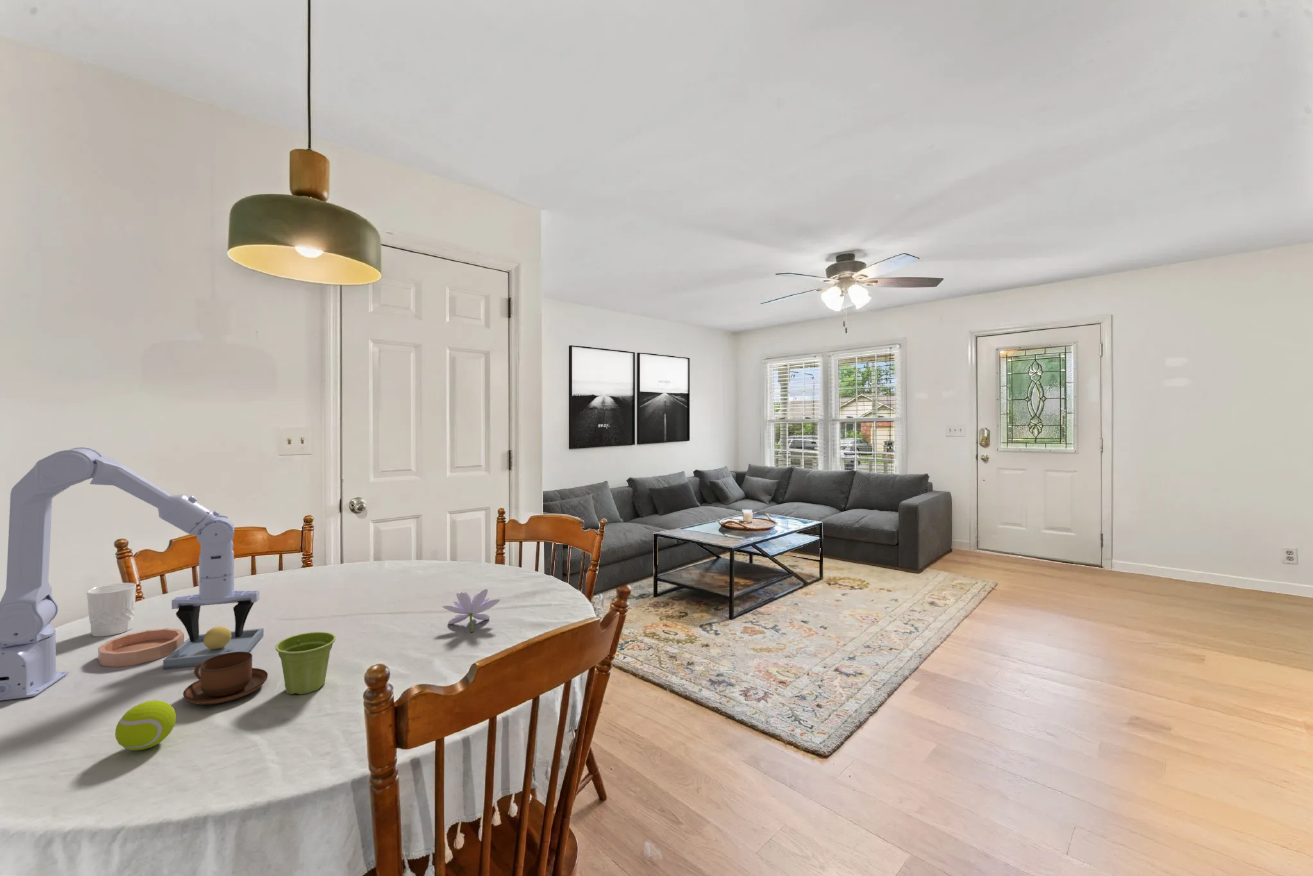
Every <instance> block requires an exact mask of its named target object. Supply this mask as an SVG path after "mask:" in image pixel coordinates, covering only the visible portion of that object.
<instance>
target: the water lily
mask: <svg viewBox="0 0 1313 876" xmlns="http://www.w3.org/2000/svg"><path fill="white" fill-rule="evenodd" d="M488 593H489V591H488V588H486V589H483V590H481V591H480V592H478V593H476V594H475V595H474V597H473V598H472V599H471V596H470V594H469V593H467V592H460V593H457V592H456V598H457V601H453V604H454V605H455V606H453V605H443V606H442V608H443V609H445V610H447V611H449V612H452V613H454V614H457V615H455V616H454V618H452V619H450V620H449V621H448V622H447V624H448V625H455V624H458V623H461V622H463V621H465V620H466V619H467V618H469V632H470V633H473V632H474V628H473V618H474V619H476V620H480V621H488V620H490V617H491V616H489V615H488V614H486V613H483V612H485V611H488V610H489V609H491V608H493V607H494V606H496V605H497V604H498V603H500V601H501V599H497V598H496V599H492V600H489V599H490V598H487V596H488Z"/></svg>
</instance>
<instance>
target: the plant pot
mask: <svg viewBox="0 0 1313 876" xmlns="http://www.w3.org/2000/svg"><path fill="white" fill-rule="evenodd" d="M336 638H337V637H336V635H335V634H334V633H332V632H327V631H312V632H311V631H310V632H304V633H299V634H296V635H295V634H294V635H292V636H288V637H286V638H284V639H282V640H280V641H279V642H277V643H276V645H275V646H274V648H275V651H276V652H278V653H277V655H278V657H279V658H280V663H281V667H282V674H283V681H284V687H285V692H286V693H287V694H289V695H293V694H299V695H306V694H309V693H313V692H315V691H317V690H319V689H321V687H322V686H325V683H326V678H327V672H328V666H329V661H330V660H329V659H330V653H331V650H332V648H333V644H334V643H335V641H336Z"/></svg>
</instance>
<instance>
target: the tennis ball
mask: <svg viewBox="0 0 1313 876" xmlns="http://www.w3.org/2000/svg"><path fill="white" fill-rule="evenodd" d="M176 720H177V714H176V710H175V709H174V707H173V706H172V705H171V704H169V703H168V702H166V701H163V700H157V699H156V700H155V699H154V700H148V701H147V700H146V701H143V702H141V703H138V704H137V705H134V706H133V707H131V708H130V709H128V710H127V711H126V712H125V713H124V714H123V715H122V716H121V718H120V719H119V721H118V722H117V724H116V727H115V733H114V735H115V740H116V742H117V743H118V745H119V746H121V747H122V748H124V749H125V750H127V751H143V750H144V751H145V750H147V749H150V748H152V747H155V746H156V745H158V744H159V743H161V742H162V741H164V740H165V739H166V738H168V736H170V734H171V732H172V730H174V727H175V725H176Z"/></svg>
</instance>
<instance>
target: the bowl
mask: <svg viewBox="0 0 1313 876" xmlns="http://www.w3.org/2000/svg"><path fill="white" fill-rule="evenodd" d="M184 642H185V633H184V632H183V631H182V630H181V629H179V628H178V629H176V628H170V627H169V628H166V627H165V628H156V629H146V630H143V631H137V632H132V633H128V634H124V635H121V636H118V637H116V638H112V639H110V640H107V641H105V643H103V644H101V645H100V646H99V647H98V648H97V649H98V650H97V652H98V653H97V655H98V657H97V658H98V659H97V661H98V663H99V665H100V666H105V667H111V668H112V667H114V668H117V667H126V666H135V665H136V666H137V665H140V664H144V663H147V662H152V661H156V660H159V659H160V660H161V659H163V658H166V657H168V656H169V655H170V654H171V653H172V652H174V651H175V650H176V649H177V648H178V647H179V646H181V645H182V644H183V643H184Z"/></svg>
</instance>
